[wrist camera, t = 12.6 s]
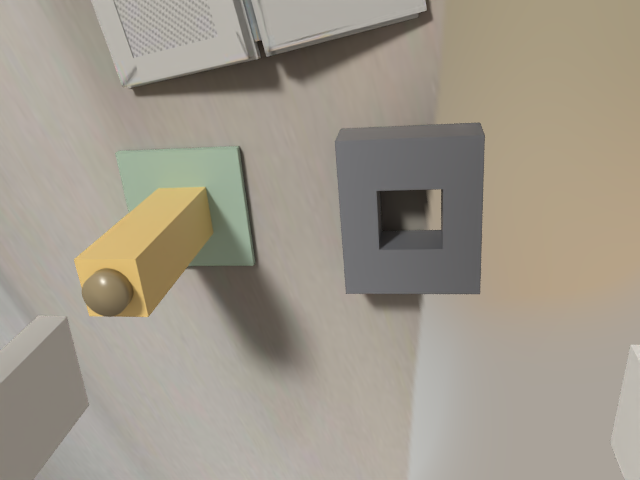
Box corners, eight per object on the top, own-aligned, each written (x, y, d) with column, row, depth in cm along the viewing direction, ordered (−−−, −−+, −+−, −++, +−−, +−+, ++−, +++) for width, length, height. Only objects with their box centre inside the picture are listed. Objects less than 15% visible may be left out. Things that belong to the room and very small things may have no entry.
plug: (158, 188, 48) (65, 266, 36) (205, 186, 48) (127, 266, 35) (167, 233, 50) (81, 324, 37) (213, 233, 49) (141, 325, 37)
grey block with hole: (341, 128, 45) (334, 141, 41) (480, 122, 43) (484, 135, 40) (350, 272, 49) (346, 293, 46) (476, 272, 48) (479, 294, 44)
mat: (118, 150, 48) (115, 152, 47) (239, 146, 46) (236, 148, 46) (143, 262, 52) (140, 266, 52) (255, 262, 50) (253, 265, 50)
